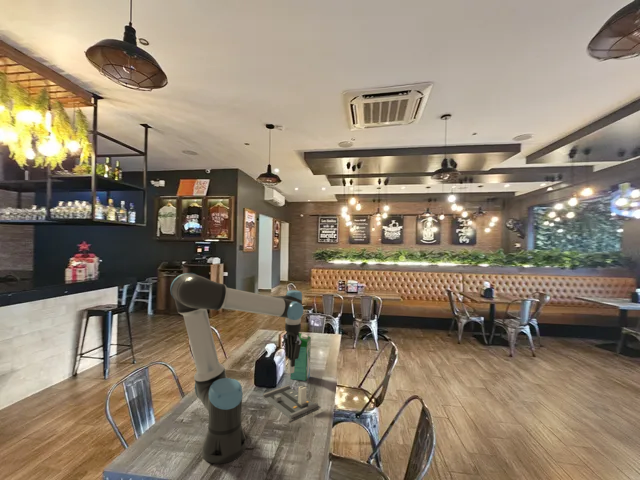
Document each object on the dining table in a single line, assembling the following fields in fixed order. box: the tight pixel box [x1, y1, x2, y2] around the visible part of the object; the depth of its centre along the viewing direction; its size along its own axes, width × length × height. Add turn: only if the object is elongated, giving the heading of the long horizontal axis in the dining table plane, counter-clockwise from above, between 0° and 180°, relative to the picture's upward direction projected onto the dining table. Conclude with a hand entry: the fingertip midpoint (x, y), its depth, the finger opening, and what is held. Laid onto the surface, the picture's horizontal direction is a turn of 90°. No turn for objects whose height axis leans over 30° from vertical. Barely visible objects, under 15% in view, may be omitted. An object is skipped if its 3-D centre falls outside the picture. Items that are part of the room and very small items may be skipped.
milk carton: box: [289, 332, 312, 382], centre depth 166 cm, size 9×9×25 cm
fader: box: [296, 385, 308, 408], centre depth 135 cm, size 4×5×8 cm
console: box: [261, 384, 320, 423], centre depth 139 cm, size 16×24×4 cm, turn 41°
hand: (291, 372), depth 141 cm, fingers closed
